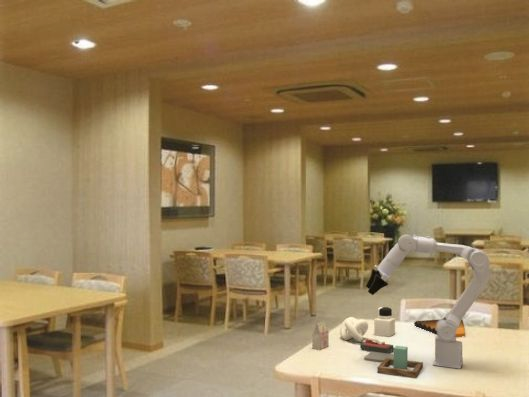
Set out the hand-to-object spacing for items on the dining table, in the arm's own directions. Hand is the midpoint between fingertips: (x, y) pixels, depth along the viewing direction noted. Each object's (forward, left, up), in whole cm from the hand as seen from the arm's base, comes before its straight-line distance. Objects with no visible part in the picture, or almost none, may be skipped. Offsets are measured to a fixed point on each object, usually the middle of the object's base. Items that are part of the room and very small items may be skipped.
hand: (369, 290), depth 208 cm
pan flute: (-22, -65, -26) cm, 73 cm away
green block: (-14, +9, -26) cm, 30 cm away
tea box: (+22, -7, -26) cm, 35 cm away
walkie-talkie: (+3, -15, -26) cm, 30 cm away
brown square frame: (-14, +9, -26) cm, 30 cm away
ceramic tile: (-4, -3, -26) cm, 26 cm away
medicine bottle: (+4, -42, -26) cm, 49 cm away
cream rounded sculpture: (+13, -27, -26) cm, 40 cm away
